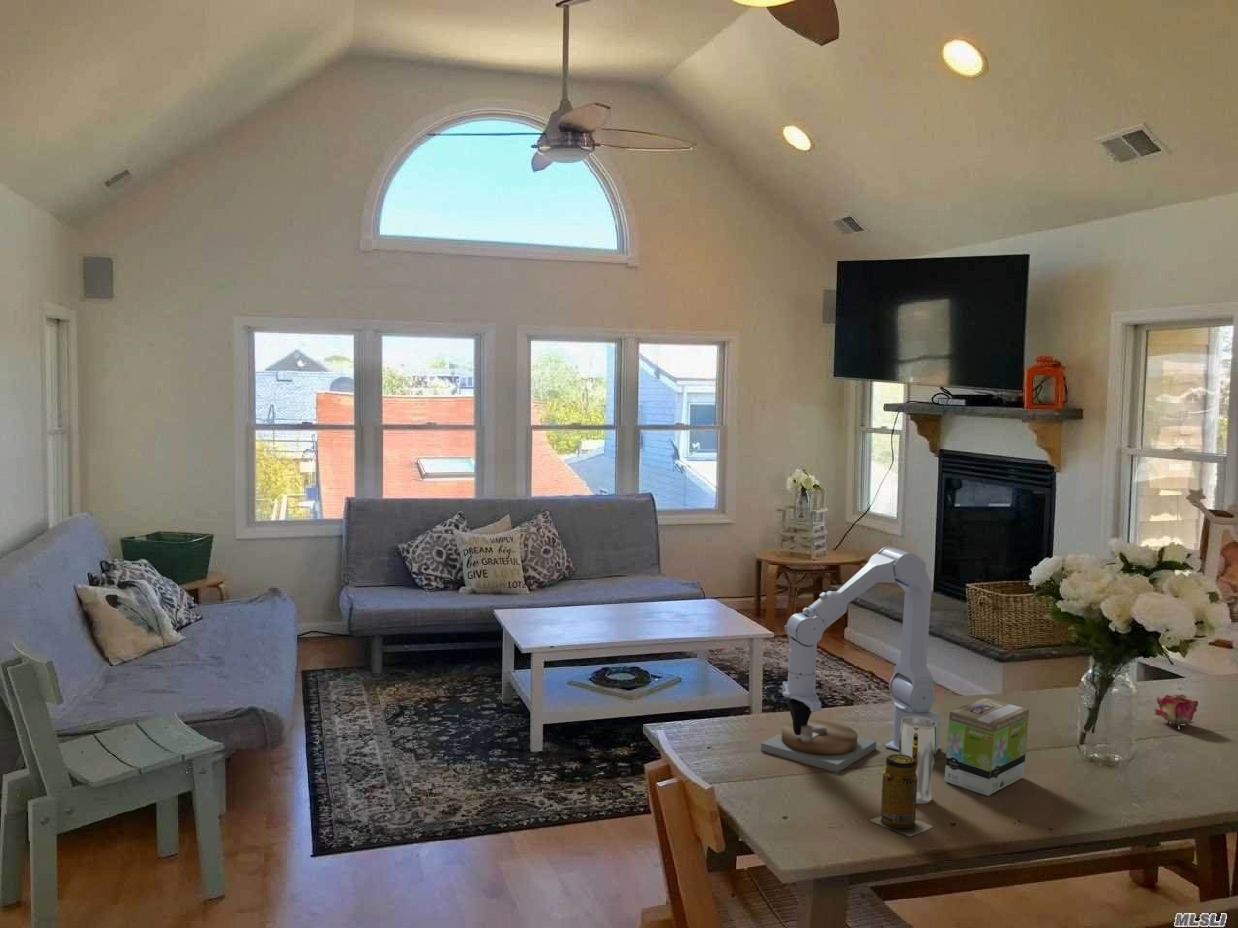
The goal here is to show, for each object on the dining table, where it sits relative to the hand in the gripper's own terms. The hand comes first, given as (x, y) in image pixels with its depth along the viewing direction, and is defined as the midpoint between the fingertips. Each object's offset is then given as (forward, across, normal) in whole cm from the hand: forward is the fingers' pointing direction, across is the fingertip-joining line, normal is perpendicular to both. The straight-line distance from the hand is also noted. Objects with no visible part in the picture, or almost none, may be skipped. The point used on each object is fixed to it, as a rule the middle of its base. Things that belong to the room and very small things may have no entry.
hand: (799, 733), depth 218 cm
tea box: (+5, +20, +31) cm, 38 cm away
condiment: (+5, +35, +4) cm, 35 cm away
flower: (+6, +1, +96) cm, 96 cm away
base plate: (+5, -2, +6) cm, 8 cm away
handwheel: (+3, -2, +6) cm, 7 cm away
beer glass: (+5, +25, +12) cm, 28 cm away
